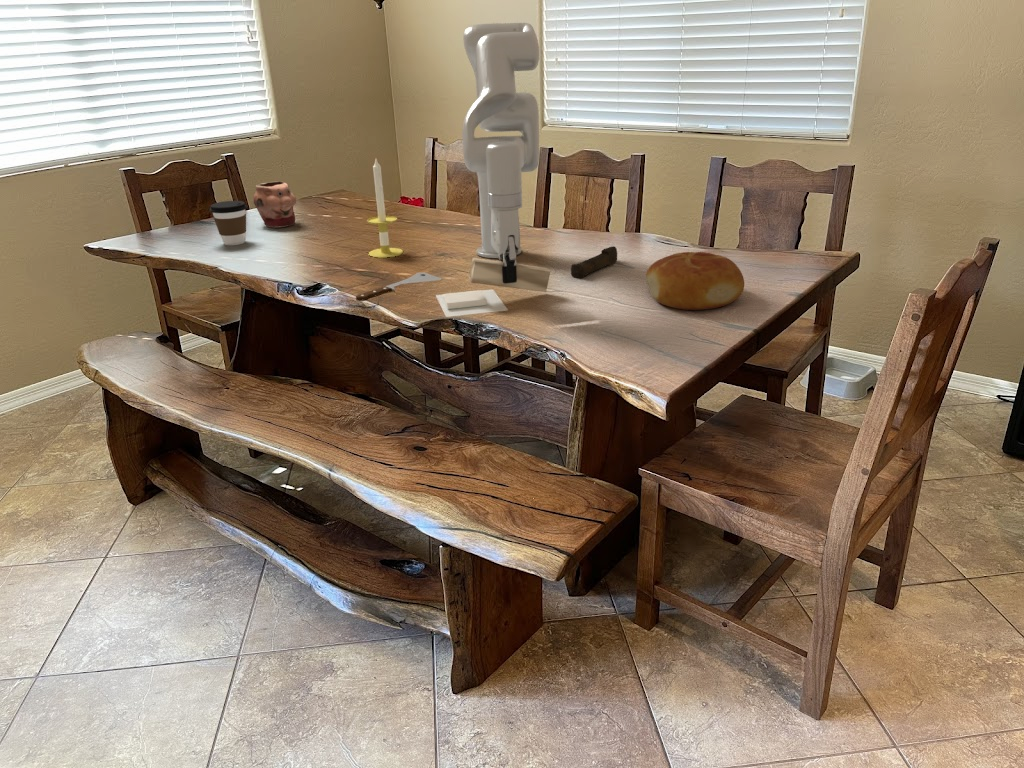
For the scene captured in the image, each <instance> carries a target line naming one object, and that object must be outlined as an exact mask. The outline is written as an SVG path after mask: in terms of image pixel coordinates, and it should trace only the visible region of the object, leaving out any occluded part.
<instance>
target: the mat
mask: <svg viewBox="0 0 1024 768" xmlns="http://www.w3.org/2000/svg"><path fill="white" fill-rule="evenodd" d="M481 292H482V293H483V295H484V296H485V298H486V302H487V305H486V306H478V307H469V308H459V309H450V310H448V309H447V307H446V305H445V303H444V301H443V295H442V294H436V295H435V297H436V299H437V302H438V303H439V305H440V307H441V310H442V311H443V313H444V316H445V318H451V317H452V318H453V317H459V316H460V317H461V316H462V317H463V316H470V315H477V314H478V315H479V314H487V313H496V312H507V311H509V309H508V308H507V307H506V305H505V304H504V302H503V301H502V299H501V298H500V297H499V296H498V295H497V292H496V291H495V290H494V289H493V288H492V289H483V290H481Z"/></svg>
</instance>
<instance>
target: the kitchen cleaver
mask: <svg viewBox="0 0 1024 768" xmlns="http://www.w3.org/2000/svg"><path fill="white" fill-rule="evenodd" d="M441 279H442V280H443V277H439V276H435V275H433V274H429V273H427V272H424V271H423V272H422V271H421V272H417V273H415V274H413V275H411V276H410V277H407V278H406V279H402V280H401V281H398V282H394V283H391V284H388V285H385V286H382V287H379V288H376V289H372V290H370V291H366V292H363V293H360V294H357V295H356V296H355V301H365V300H368V299H369V297H370V298H372V296H374V297H376V296H375V295H377V296H379V295H378V294H380V295H382V294H385V293H384V292H386V293H389V292H395V293H396V290H395V287H397V286H401V285H402V284H403V285H405V284H413V283H426V282H434V281H435V282H436V281H441ZM388 291H389V292H388ZM381 293H382V294H381ZM367 298H368V299H367Z"/></svg>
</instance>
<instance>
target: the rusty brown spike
mask: <svg viewBox="0 0 1024 768" xmlns="http://www.w3.org/2000/svg"><path fill="white" fill-rule="evenodd" d="M617 261H618V250H617V247H616V246H609V247H606V248H603V249H602V250H601V252H600V253H599V254H597V255H595V256H593V257H590V258H588V259H585V260H583V261H580V262H578V263H572V264H571V267H570V274H571V276H572V278H575V279H579V280H581V279H583V278H586V277H587V275H588V274H590V273H593V272H595V271H597V270H600V269H602V268H603V267H609V268H610V267H612V266H613V265H614V264H615V263H616V262H617Z"/></svg>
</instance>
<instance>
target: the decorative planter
mask: <svg viewBox="0 0 1024 768" xmlns="http://www.w3.org/2000/svg"><path fill="white" fill-rule="evenodd" d="M253 204H254V206H255V208H256V210H257V211H258V214H259V216H260V217H261V220H262V221H263V223H264V225H265V226H266V227H269V228H284V227H290V226H294V225H295V223H296V215H295V210H294V206H296V204H297V198H296V196H295V195H294V193H293V192H292V191H291V189H290V187H289V184H288V183H286V182H284V181H269V182H263V183H259V184H256V185H255V193H254V194H253Z"/></svg>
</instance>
